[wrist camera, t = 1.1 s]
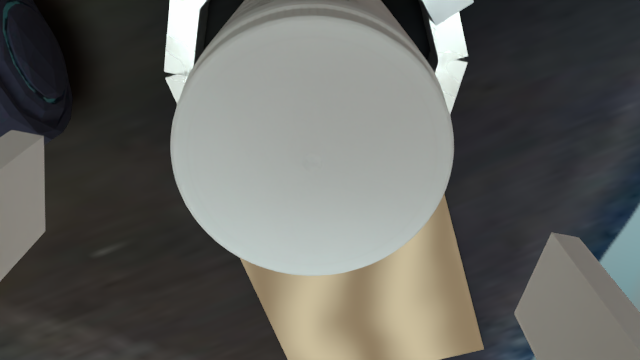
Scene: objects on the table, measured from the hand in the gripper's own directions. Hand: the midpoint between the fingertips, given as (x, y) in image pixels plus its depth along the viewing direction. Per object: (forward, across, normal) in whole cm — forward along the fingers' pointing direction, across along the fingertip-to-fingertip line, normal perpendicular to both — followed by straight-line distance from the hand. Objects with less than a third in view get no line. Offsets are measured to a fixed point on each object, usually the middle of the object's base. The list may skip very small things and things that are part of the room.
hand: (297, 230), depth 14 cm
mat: (+19, +7, -15) cm, 25 cm away
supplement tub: (+19, 0, 0) cm, 19 cm away
